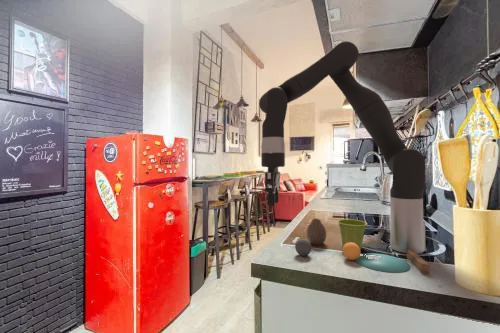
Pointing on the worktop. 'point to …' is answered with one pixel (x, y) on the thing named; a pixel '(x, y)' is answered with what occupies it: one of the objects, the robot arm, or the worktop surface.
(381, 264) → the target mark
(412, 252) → the rail
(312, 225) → the brown oval solid
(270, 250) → the worktop surface
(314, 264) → the worktop surface
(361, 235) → the plant pot
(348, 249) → the orange ball
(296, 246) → the gray ball
